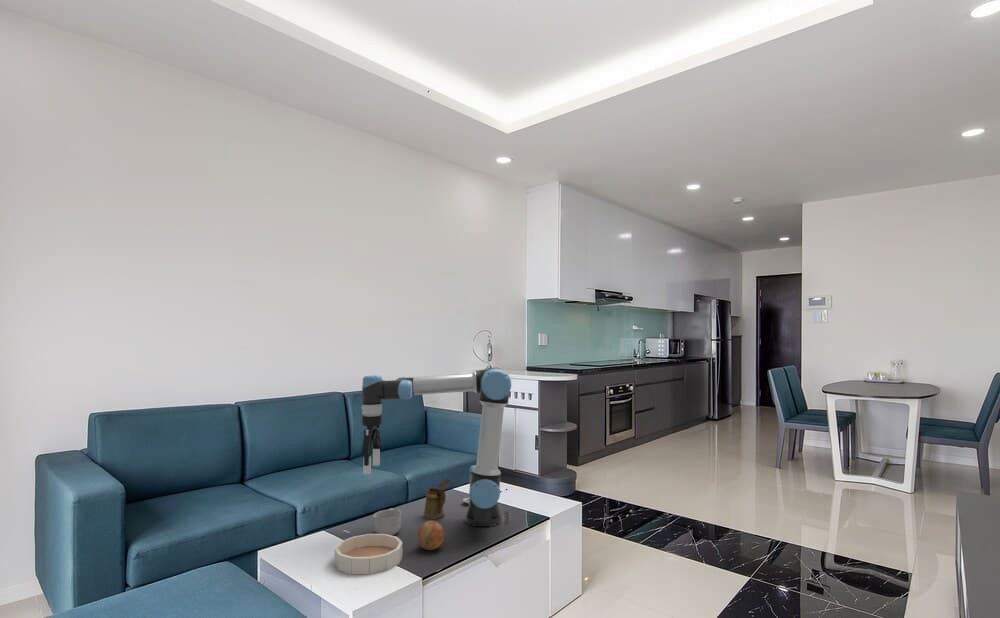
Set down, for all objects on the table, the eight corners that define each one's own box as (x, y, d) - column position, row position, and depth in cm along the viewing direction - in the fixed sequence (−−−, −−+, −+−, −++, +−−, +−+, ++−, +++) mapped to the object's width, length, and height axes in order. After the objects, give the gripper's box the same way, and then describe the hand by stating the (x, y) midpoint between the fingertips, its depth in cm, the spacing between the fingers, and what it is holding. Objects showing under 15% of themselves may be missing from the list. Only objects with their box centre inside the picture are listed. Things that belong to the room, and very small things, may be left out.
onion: (444, 543, 198) (444, 516, 199) (443, 554, 188) (443, 525, 189) (418, 544, 198) (418, 516, 198) (415, 554, 188) (416, 526, 188)
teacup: (394, 539, 202) (395, 518, 203) (368, 537, 204) (368, 516, 205) (408, 527, 216) (408, 507, 216) (383, 525, 218) (383, 505, 218)
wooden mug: (440, 523, 220) (440, 479, 221) (419, 516, 229) (419, 474, 230) (455, 517, 227) (456, 475, 228) (434, 511, 236) (434, 470, 237)
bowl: (406, 547, 194) (406, 533, 194) (394, 574, 172) (394, 558, 172) (346, 547, 194) (346, 533, 194) (326, 574, 172) (326, 558, 172)
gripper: (371, 410, 222) (370, 462, 221) (353, 419, 197) (352, 477, 196) (388, 410, 222) (388, 462, 221) (373, 419, 197) (372, 477, 196)
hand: (371, 469), depth 208 cm, fingers open, 13 cm apart
